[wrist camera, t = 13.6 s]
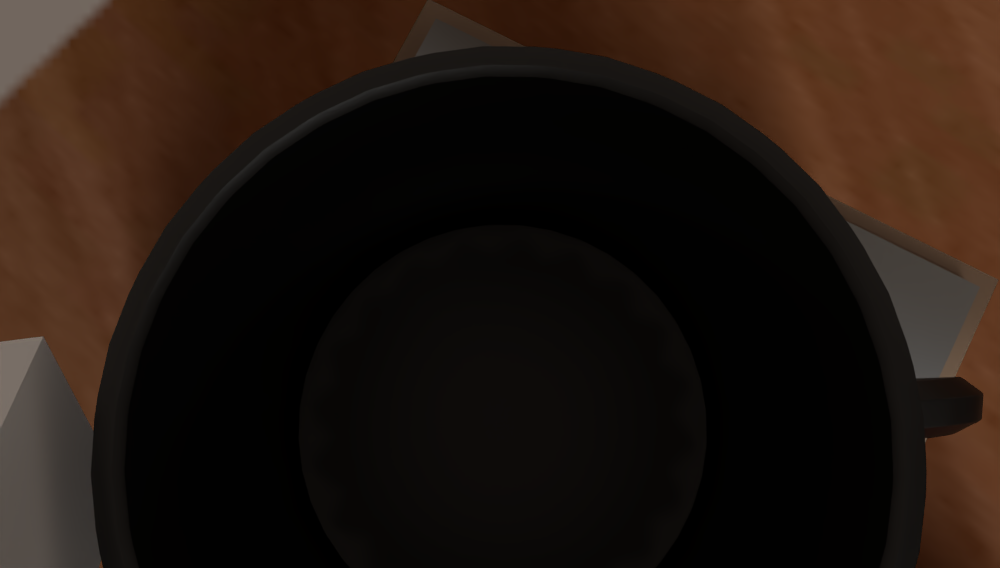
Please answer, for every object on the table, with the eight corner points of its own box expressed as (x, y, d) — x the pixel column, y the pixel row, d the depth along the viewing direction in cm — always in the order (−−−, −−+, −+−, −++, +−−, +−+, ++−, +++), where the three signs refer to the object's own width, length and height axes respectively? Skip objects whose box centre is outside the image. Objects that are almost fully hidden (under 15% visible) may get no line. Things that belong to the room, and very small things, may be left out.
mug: (877, 635, 19) (1226, 851, 10) (283, 677, 19) (88, 935, 10) (827, 180, 20) (1099, 3, 11) (266, 215, 20) (78, 63, 11)
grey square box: (448, 113, 29) (426, -11, 21) (851, 315, 29) (1010, 276, 20) (232, 516, 28) (106, 571, 19) (652, 740, 27) (727, 909, 18)
